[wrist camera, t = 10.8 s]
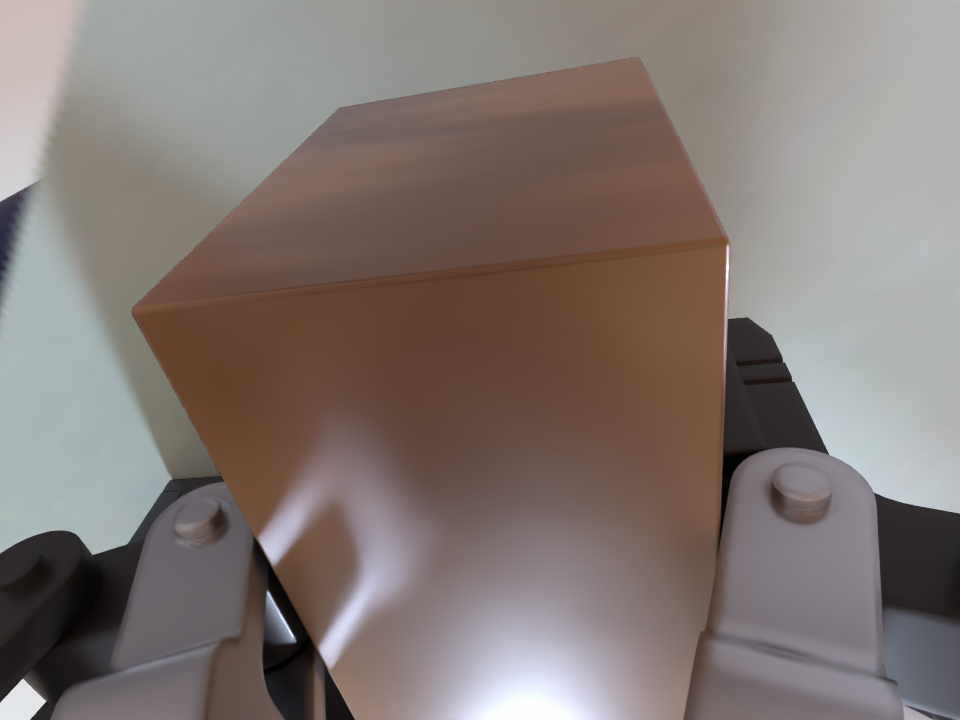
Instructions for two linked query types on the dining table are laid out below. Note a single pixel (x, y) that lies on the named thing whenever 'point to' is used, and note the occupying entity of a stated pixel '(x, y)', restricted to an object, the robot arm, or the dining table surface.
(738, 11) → the dining table surface
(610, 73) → the package
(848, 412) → the dining table surface
